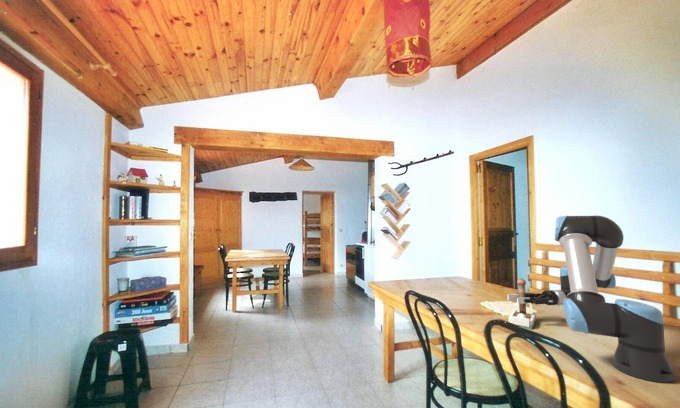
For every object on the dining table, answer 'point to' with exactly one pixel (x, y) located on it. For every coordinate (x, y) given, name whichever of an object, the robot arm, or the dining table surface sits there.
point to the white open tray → (522, 320)
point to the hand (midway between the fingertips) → (512, 299)
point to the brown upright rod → (521, 288)
